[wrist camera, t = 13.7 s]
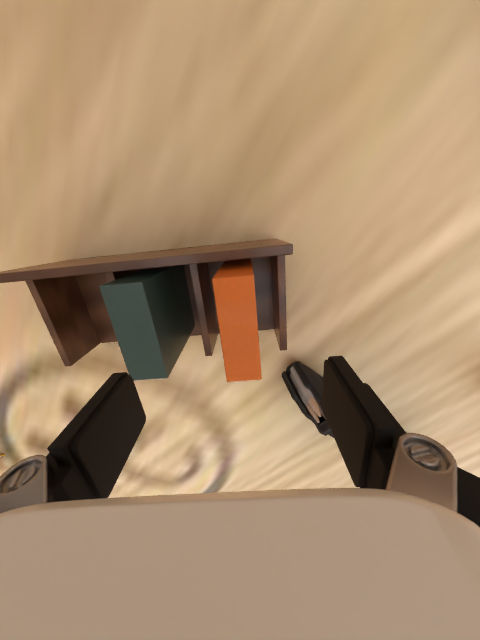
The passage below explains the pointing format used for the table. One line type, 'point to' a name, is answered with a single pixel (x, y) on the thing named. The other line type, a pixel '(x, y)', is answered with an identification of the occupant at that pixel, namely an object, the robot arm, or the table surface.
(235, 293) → the orange book
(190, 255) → the book rack
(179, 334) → the green book
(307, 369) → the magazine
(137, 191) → the table surface
